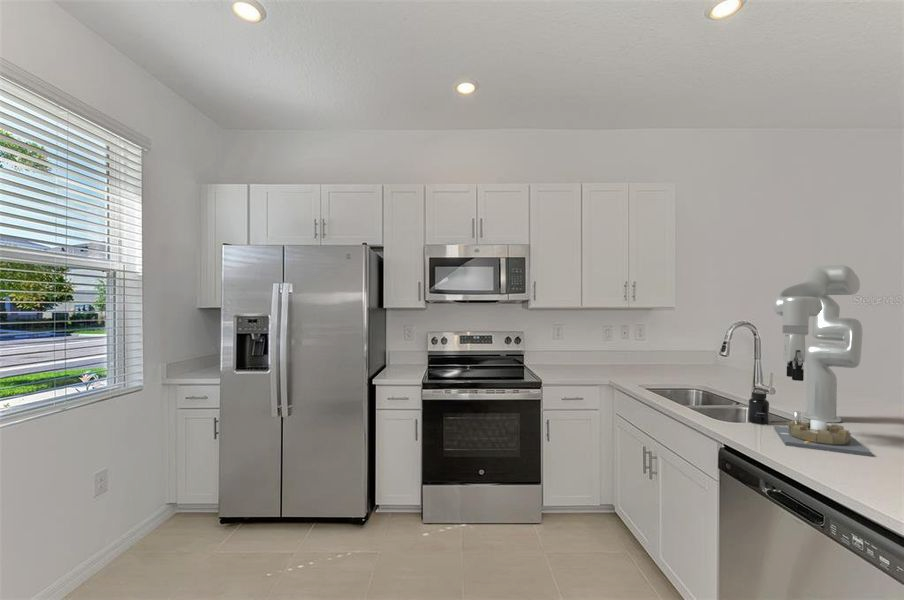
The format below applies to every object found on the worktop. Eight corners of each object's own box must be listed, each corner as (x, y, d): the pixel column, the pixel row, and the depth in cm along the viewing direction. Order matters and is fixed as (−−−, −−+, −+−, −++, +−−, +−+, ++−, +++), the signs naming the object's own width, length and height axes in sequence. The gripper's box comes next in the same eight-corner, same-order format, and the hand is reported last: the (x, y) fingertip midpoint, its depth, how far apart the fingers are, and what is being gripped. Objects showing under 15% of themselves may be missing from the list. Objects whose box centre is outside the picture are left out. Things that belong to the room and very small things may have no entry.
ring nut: (785, 428, 167) (785, 406, 167) (841, 434, 159) (841, 411, 159) (794, 439, 152) (794, 416, 152) (856, 447, 145) (856, 422, 145)
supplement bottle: (759, 425, 175) (759, 394, 175) (743, 420, 182) (744, 391, 182) (773, 424, 177) (773, 393, 177) (757, 419, 184) (757, 390, 184)
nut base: (774, 429, 171) (774, 410, 171) (849, 437, 160) (849, 418, 160) (785, 445, 151) (785, 424, 151) (871, 456, 141) (872, 434, 141)
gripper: (778, 329, 172) (777, 374, 172) (787, 331, 157) (786, 381, 157) (802, 330, 169) (802, 376, 169) (814, 332, 154) (813, 383, 153)
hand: (794, 378), depth 163 cm, fingers open, 8 cm apart
